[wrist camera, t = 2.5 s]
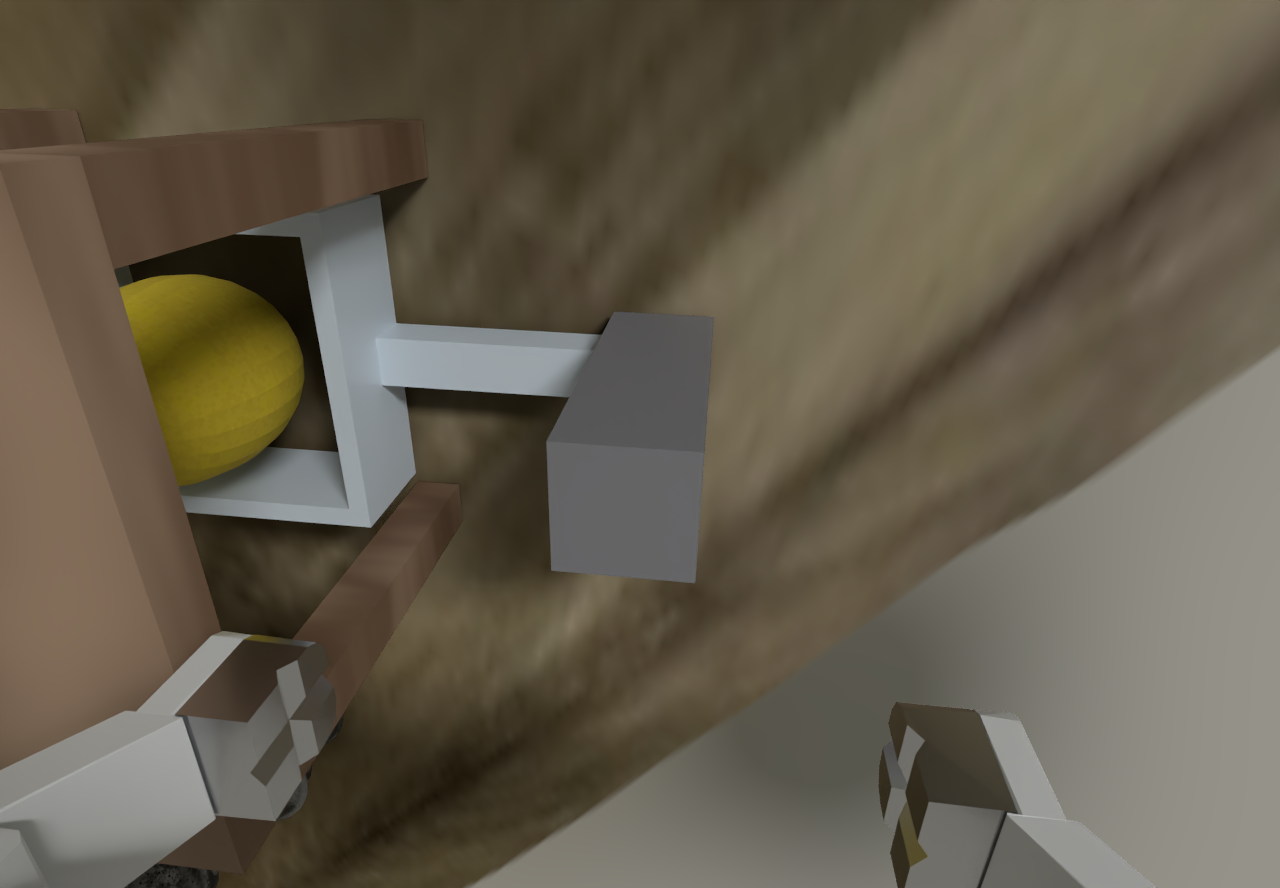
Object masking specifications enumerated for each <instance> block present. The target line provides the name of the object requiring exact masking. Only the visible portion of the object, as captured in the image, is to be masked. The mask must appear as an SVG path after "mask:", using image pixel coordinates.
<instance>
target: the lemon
mask: <svg viewBox="0 0 1280 888" xmlns="http://www.w3.org/2000/svg"><path fill="white" fill-rule="evenodd" d="M119 289H120V292H121V296H122V299H123V302H124V306H125V309H126V312H127V316H128V319H129V322H130V326H131V329H132V333H133V336H134V339H135V343H136V346H137V349H138V353H139V356H140V359H141V363H142V366H143V369H144V373H145V376H146V380H147V383H148V386H149V390H150V393H151V396H152V400H153V403H154V406H155V410H156V413H157V417H158V420H159V423H160V427H161V430H162V433H163V437H164V440H165V443H166V447H167V450H168V454H169V457H170V460H171V464H172V467H173V470H174V474H175V477H176V480H177V484H178V487H179V486H186V485H191V484H195V483H199V482H202V481H205V480H208V479H211V478H213V477H215V476H217V475H220V474H222V473H224V472H227V471H229V470H231V469H234V468H236V467H238V466H240V465H242V464H244V463H246V462H247V461H249V460H250V459H252V458H253V457H255V456H256V455H257V454H259V453H260V452H261V451H262V450H263V449H265V448H266V447H267V446H268V445H269V444H270V443H271V442H272V441H273V440H275V439H276V438H277V437H278V436H279V435H280V434H281V432H282V431H283V430H284V429H285V427H286V426H287V425H288V423H289V421H290V419H291V417H292V415H293V414H294V412H295V410H296V408H297V406H298V404H299V402H300V399H301V395H302V390H303V384H304V379H305V376H304V361H303V355H302V352H301V349H300V346H299V343H298V340H297V338H296V336H295V334H294V333H293V331H292V329H291V327H290V326H289V324H288V322H287V321H286V320H285V319H284V318H283V316H282V315H281V314H280V313H279V312H278V311H277V310H276V309H275V307H274V306H273V305H271V304H270V303H269V302H267V301H266V300H265V299H263V298H262V297H261V296H259V295H258V294H257V293H255V292H252V291H250V290H248V289H246V288H244V287H242V286H240V285H238V284H236V283H233V282H231V281H227V280H222V279H218V278H214V277H209V276H205V275H196V274H188V275H166V276H157V277H151V278H147V279H143V280H140V281H137V282H134V283H131V284H129V285H126V286H123V287H120V288H119Z"/></svg>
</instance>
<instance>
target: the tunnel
mask: <svg viewBox="0 0 1280 888" xmlns="http://www.w3.org/2000/svg"><path fill="white" fill-rule="evenodd" d="M427 177H428V171H427V161H426V151H425V141H424V131H423V121H422V120H388V119H365V120H353V121H341V122H329V123H318V124H306V125H294V126H282V127H270V128H258V129H247V130H235V131H223V132H211V133H199V134H187V135H176V136H164V137H152V138H140V139H128V140H116V141H105V142H93V143H86V141H85V138H84V134H83V131H82V127H81V124H80V121H79V117H78V114H77V110H58V109H0V770H2V769H4V768H6V767H8V766H10V765H12V764H14V763H16V762H19V761H21V760H23V759H25V758H27V757H29V756H31V755H33V754H35V753H38V752H40V751H42V750H44V749H46V748H48V747H50V746H52V745H54V744H56V743H59V742H61V741H63V740H65V739H67V738H69V737H71V736H73V735H75V734H77V733H80V732H82V731H84V730H86V729H88V728H90V727H92V726H94V725H96V724H98V723H101V722H103V721H105V720H107V719H109V718H111V717H113V716H115V715H117V714H119V713H122V712H124V711H135V712H136V711H137V710H138V709H139V708H140V707H141V706H142V705H143V704H144V703H145V702H146V701H147V700H148V699H149V698H150V697H151V696H152V695H153V694H154V693H155V692H156V691H157V690H158V689H159V688H160V687H161V686H162V685H163V684H164V683H165V682H166V681H167V680H168V679H169V678H170V677H171V676H172V675H173V674H174V673H175V672H176V671H177V670H178V669H179V668H180V667H181V666H182V665H183V664H184V663H185V662H186V661H187V660H188V659H189V658H190V657H191V656H192V655H193V654H194V653H195V652H196V651H197V650H198V649H199V648H200V647H201V646H202V645H203V644H204V643H205V642H206V641H207V640H208V639H209V638H210V637H211V636H212V635H214V634H217V633H219V632H221V628H220V625H219V622H218V618H217V615H216V611H215V608H214V605H213V601H212V598H211V595H210V591H209V588H208V585H207V581H206V578H205V575H204V571H203V568H202V564H201V561H200V558H199V554H198V551H197V548H196V544H195V541H194V538H193V534H192V531H191V527H190V524H189V521H188V517H187V514H186V511H185V507H184V504H183V501H182V497H181V494H180V490H179V487H178V484H177V480H176V477H175V474H174V470H173V467H172V464H171V460H170V457H169V454H168V450H167V447H166V443H165V440H164V437H163V433H162V430H161V427H160V423H159V420H158V417H157V413H156V410H155V406H154V403H153V400H152V396H151V393H150V390H149V386H148V383H147V380H146V376H145V373H144V369H143V366H142V363H141V359H140V356H139V353H138V349H137V346H136V343H135V339H134V336H133V333H132V329H131V326H130V322H129V319H128V316H127V312H126V309H125V306H124V302H123V299H122V296H121V292H120V289H119V285H118V282H117V279H116V275H115V272H114V269H117V268H120V267H124V266H127V265H131V264H134V263H137V262H141V261H144V260H148V259H151V258H154V257H158V256H161V255H165V254H168V253H171V252H175V251H178V250H182V249H185V248H189V247H192V246H195V245H199V244H202V243H206V242H209V241H212V240H216V239H219V238H223V237H226V236H229V235H233V234H236V233H240V232H243V231H246V230H250V229H253V228H257V227H260V226H264V225H267V224H270V223H274V222H277V221H281V220H284V219H287V218H291V217H294V216H298V215H301V214H304V213H308V212H311V211H315V210H318V209H321V208H325V207H328V206H332V205H335V204H339V203H342V202H345V201H349V200H352V199H356V198H359V197H362V196H366V195H369V194H373V193H376V192H379V191H383V190H386V189H390V188H393V187H396V186H400V185H403V184H407V183H410V182H413V181H417V180H420V179H424V178H427ZM462 521H463V518H462V508H461V498H460V488H459V484H448V483H434V482H421V481H418V482H417V483H416V484H415V485H414V487H413V488H412V489H411V491H410V492H409V493H408V494H407V496H406V497H405V498H404V499H403V501H402V502H401V503H400V504H399V506H398V507H397V508H396V509H395V511H394V512H393V513H392V514H391V516H390V517H389V518H388V519H387V521H386V522H385V523H384V524H383V526H382V527H381V528H380V530H379V531H378V532H377V533H376V535H375V536H374V537H373V538H372V540H371V541H370V542H369V543H368V545H367V546H366V547H365V548H364V550H363V551H362V552H361V553H360V555H359V556H358V557H357V558H356V560H355V561H354V562H353V563H352V565H351V566H350V567H349V568H348V570H347V571H346V572H345V574H344V575H343V576H342V577H341V579H340V580H339V581H338V582H337V584H336V585H335V586H334V587H333V589H332V590H331V591H330V592H329V594H328V595H327V596H326V597H325V599H324V600H323V601H322V602H321V604H320V605H319V606H318V607H317V609H316V610H315V611H314V613H313V614H312V615H311V616H310V618H309V619H308V620H307V621H306V623H305V624H304V625H303V626H302V628H301V629H300V630H299V631H298V633H297V634H296V635H295V636H294V638H293V639H294V640H301V641H309V642H316V643H319V644H321V645H323V646H325V650H326V654H327V657H328V661H329V665H328V666H327V668H326V669H325V670H324V672H323V673H322V675H323V676H324V677H325V678H326V679H327V681H328V682H329V683H330V684H331V685H332V686H333V687H334V690H335V695H336V700H337V701H336V717H335V720H334V723H333V726H332V729H331V733H332V731H333V729H334V728H335V726H336V725H337V723H338V721H339V720H340V718H341V717H342V715H343V713H344V712H345V710H346V708H347V707H348V705H349V704H350V702H351V700H352V699H353V697H354V696H355V694H356V692H357V691H358V689H359V687H360V686H361V684H362V683H363V681H364V679H365V678H366V676H367V674H368V673H369V671H370V670H371V668H372V666H373V665H374V663H375V662H376V660H377V658H378V657H379V655H380V653H381V652H382V650H383V649H384V647H385V645H386V644H387V642H388V641H389V639H390V637H391V636H392V634H393V632H394V631H395V629H396V628H397V626H398V624H399V623H400V621H401V620H402V618H403V616H404V615H405V613H406V611H407V610H408V608H409V607H410V605H411V603H412V602H413V600H414V599H415V597H416V595H417V594H418V592H419V590H420V589H421V587H422V586H423V584H424V582H425V581H426V579H427V578H428V576H429V574H430V573H431V571H432V569H433V568H434V566H435V565H436V563H437V561H438V560H439V558H440V557H441V555H442V553H443V552H444V550H445V548H446V547H447V545H448V544H449V542H450V540H451V539H452V537H453V536H454V534H455V532H456V531H457V529H458V527H459V526H460V524H461V523H462ZM331 733H330V734H331ZM317 755H318V754H317ZM317 755H316V756H314V757H313V758H311V759H310V760H308V761H306V762H305V763H303V764H302V765H300V769H301V776H302V780H303V778H304V776H305V775H306V773H307V771H308V770H309V768H310V767H311V765H312V763H313V762H314V760H315V759H316V757H317ZM300 783H301V782H300ZM298 786H299V785H298ZM297 788H298V787H297ZM297 788H296V789H297ZM295 791H296V790H295ZM295 791H294V792H295ZM293 794H294V793H293ZM292 796H293V795H292ZM292 796H291V797H292ZM290 799H291V798H290ZM290 799H289V801H290ZM289 801H288V802H289ZM288 802H287V804H288ZM287 804H286V805H287ZM286 805H285V807H286ZM285 807H284V808H283V810H284V809H285ZM283 810H282V812H283ZM282 812H281V813H282ZM281 813H280V815H281ZM280 815H279V816H278V818H279V817H280ZM215 816H216V819H215V820H214V821H212V822H211V823H210V824H208V825H207V826H206V827H204V828H203V829H202V830H200V831H199V832H198V833H196V834H195V835H194V836H192V837H191V838H190V839H188V840H187V841H186V842H184V843H183V844H182V845H180V846H179V847H178V848H176V849H175V850H174V851H172V852H171V853H170V854H168V855H167V856H166V857H164V858H163V859H162V860H160V861H159V862H158V863H160V864H168V865H176V866H184V867H191V868H199V869H207V870H214V871H222V872H230V873H238V874H244V873H245V872H246V870H247V868H248V867H249V865H250V864H251V862H252V860H253V859H254V857H255V855H256V854H257V852H258V851H259V849H260V847H261V846H262V844H263V843H264V841H265V839H266V838H267V836H268V834H269V833H270V831H271V830H272V828H273V826H274V825H275V823H276V822H277V820H278V818H277V819H276V821H269V820H259V819H248V818H238V817H228V816H218V815H215Z"/></svg>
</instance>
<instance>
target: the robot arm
mask: <svg viewBox="0 0 1280 888" xmlns="http://www.w3.org/2000/svg"><path fill="white" fill-rule="evenodd" d="M328 665H329V661H328V657H327V654H326V650H325V646H323V645H321V644H319V643H316V642H309V641H301V640H294V639H286V638H278V637H271V636H263V635H249V634H241V633H234V632H227V631H222V632H219V633H217V634H214V635H212V636H211V637H210V638H209V639H208V640H207V641H206V642H205V643H204V644H203V645H202V646H201V647H200V648H199V649H198V650H197V651H196V652H195V653H194V654H193V655H192V656H191V657H190V658H189V659H188V660H187V661H186V662H185V663H184V664H183V665H182V666H181V667H180V668H179V669H178V670H177V671H176V672H175V673H174V674H173V675H172V676H171V677H170V678H169V679H168V680H167V681H166V682H165V683H164V684H163V685H162V686H161V687H160V688H159V689H158V690H157V691H156V692H155V693H154V694H153V695H152V696H151V697H150V698H149V699H148V700H147V701H146V702H145V703H144V704H143V705H142V706H141V707H140V708H139V709H138V710H137V711H136V712H135V711H124V712H122V713H119V714H117V715H115V716H113V717H111V718H109V719H107V720H105V721H103V722H101V723H98V724H96V725H94V726H92V727H90V728H88V729H86V730H84V731H82V732H80V733H77V734H75V735H73V736H71V737H69V738H67V739H65V740H63V741H61V742H59V743H56V744H54V745H52V746H50V747H48V748H46V749H44V750H42V751H40V752H38V753H35V754H33V755H31V756H29V757H27V758H25V759H23V760H21V761H19V762H16V763H14V764H12V765H10V766H8V767H6V768H4V769H2V770H0V888H124V887H125V886H127V885H128V884H129V883H131V882H132V881H133V880H135V879H136V878H137V877H139V876H140V875H141V874H143V873H144V872H145V871H147V870H148V869H149V868H151V867H152V866H153V865H155V864H156V863H158V862H159V861H160V860H162V859H163V858H164V857H166V856H167V855H168V854H170V853H171V852H172V851H174V850H175V849H176V848H178V847H179V846H180V845H182V844H183V843H184V842H186V841H187V840H188V839H190V838H191V837H192V836H194V835H195V834H196V833H198V832H199V831H200V830H202V829H203V828H204V827H206V826H207V825H208V824H210V823H211V822H212V821H214V820H215V819H216V816H215V815H218V816H228V817H238V818H248V819H259V820H269V821H276V819H277V818H278V816H279V815H280V813H281V812H282V810H283V808H284V807H285V805H286V804H287V802H288V801H289V799H290V798H291V796H292V795H293V793H294V791H295V790H296V788H297V787H298V785H299V784H300V782H301V781H302V776H301V769H300V765H302V764H303V763H305V762H306V761H308V760H310V759H311V758H313V757H314V756H316V755H317V754H319V753H320V751H321V749H322V748H323V746H324V744H325V743H326V741H327V739H328V738H329V736H330V733H331V729H332V726H333V723H334V720H335V717H336V701H337V700H336V695H335V690H334V687H333V686H332V685H331V684H330V683H329V682H328V681H327V679H326V678H325V677H324V676H323V675H322V673H323V672H324V670H325V669H326V668H327V666H328ZM889 728H890V732H891V736H892V741H891V742H890V743H888V744H887V745H886V746H884V747H883V750H882V755H881V760H880V765H879V795H880V804H881V809H882V815H883V820H884V822H885V823H886V824H887V825H888V826H889V827H890V828H891V829H892V831H893V832H894V833H895V835H894V839H893V843H892V847H891V851H890V854H891V859H892V863H893V868H894V873H895V877H896V882H897V887H898V888H1156V887H1155V886H1154V885H1153V884H1152V883H1151V882H1149V881H1148V880H1147V879H1146V878H1145V877H1144V876H1142V875H1141V874H1140V873H1139V872H1138V871H1137V870H1135V869H1134V868H1133V867H1132V866H1130V865H1129V864H1128V863H1127V862H1126V861H1125V860H1123V859H1122V858H1121V857H1120V856H1119V855H1118V854H1117V853H1115V852H1114V851H1113V850H1112V849H1111V848H1110V847H1108V846H1107V845H1106V844H1105V843H1104V842H1102V841H1101V840H1100V839H1099V838H1098V837H1097V836H1096V835H1094V834H1093V833H1092V832H1091V831H1090V830H1088V829H1087V828H1086V827H1085V826H1084V825H1083V824H1081V823H1080V822H1077V821H1070V820H1066V817H1065V815H1064V813H1063V811H1062V809H1061V807H1060V805H1059V802H1058V800H1057V798H1056V796H1055V794H1054V792H1053V790H1052V788H1051V786H1050V783H1049V781H1048V779H1047V777H1046V775H1045V773H1044V771H1043V769H1042V766H1041V764H1040V762H1039V760H1038V758H1037V756H1036V754H1035V752H1034V749H1033V747H1032V745H1031V743H1030V741H1029V739H1028V737H1027V734H1026V732H1025V731H1024V728H1023V726H1022V724H1021V722H1020V720H1019V718H1018V717H1017V716H1015V715H1014V714H1013V713H1009V712H999V711H988V710H976V709H973V710H970V709H962V708H952V707H941V706H930V705H919V704H910V703H899V702H896V703H895V705H894V707H893V708H892V711H891V716H890V719H889Z"/></svg>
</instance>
